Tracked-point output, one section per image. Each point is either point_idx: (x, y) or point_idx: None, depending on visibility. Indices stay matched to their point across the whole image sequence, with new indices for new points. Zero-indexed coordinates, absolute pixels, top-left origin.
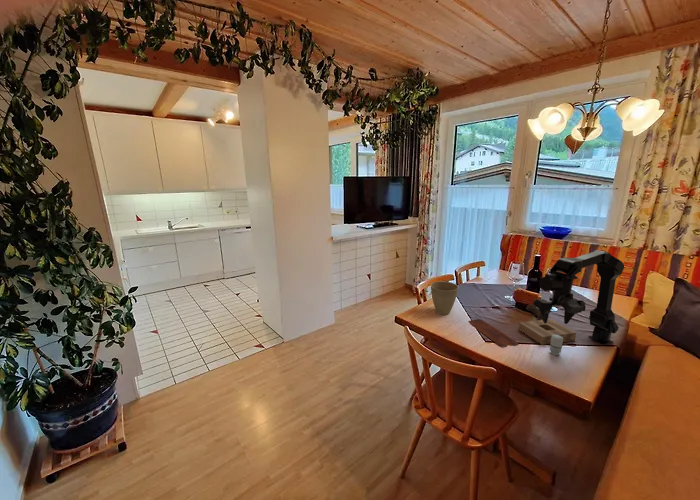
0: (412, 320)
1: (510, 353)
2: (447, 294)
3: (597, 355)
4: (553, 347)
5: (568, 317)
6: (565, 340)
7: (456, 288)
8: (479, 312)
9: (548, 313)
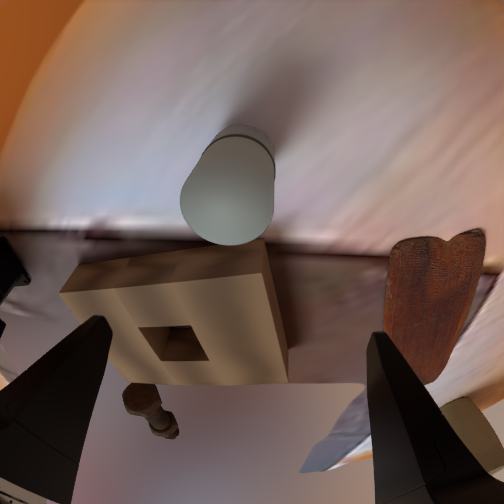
0: None
1: (486, 176)
2: (493, 457)
3: (35, 150)
4: (269, 151)
5: (57, 384)
6: (116, 263)
7: None
8: (348, 419)
9: (439, 488)
